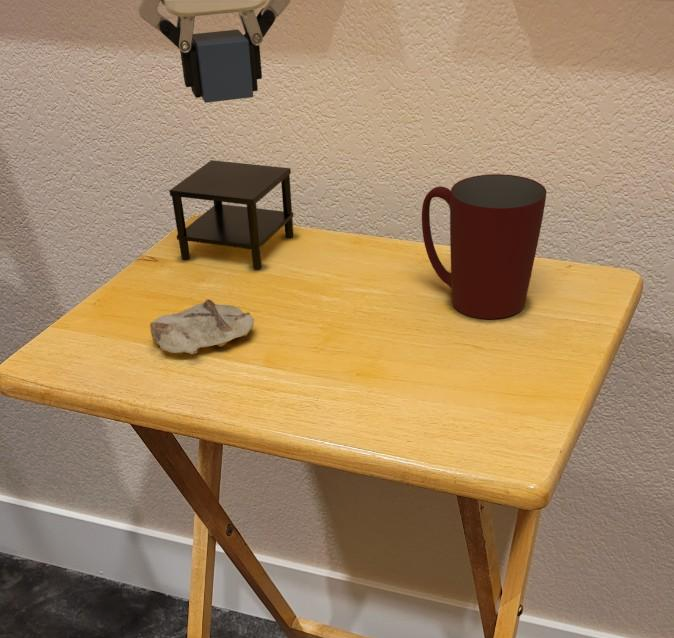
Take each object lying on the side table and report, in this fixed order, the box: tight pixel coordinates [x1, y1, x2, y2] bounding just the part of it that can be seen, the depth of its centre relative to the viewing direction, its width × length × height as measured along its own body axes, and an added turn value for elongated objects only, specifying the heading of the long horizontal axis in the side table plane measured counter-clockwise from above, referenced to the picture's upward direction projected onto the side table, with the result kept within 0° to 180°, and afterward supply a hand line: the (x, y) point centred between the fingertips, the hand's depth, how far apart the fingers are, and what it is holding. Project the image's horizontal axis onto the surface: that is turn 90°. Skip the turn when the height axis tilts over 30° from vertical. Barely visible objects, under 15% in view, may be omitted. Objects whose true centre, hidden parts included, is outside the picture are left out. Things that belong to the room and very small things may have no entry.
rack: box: [169, 160, 295, 271], centre depth 99 cm, size 10×10×8 cm
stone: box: [149, 298, 255, 355], centre depth 85 cm, size 10×7×3 cm
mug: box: [421, 173, 547, 320], centre depth 87 cm, size 12×9×11 cm
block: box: [192, 29, 254, 104], centre depth 88 cm, size 5×5×5 cm
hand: (224, 89), depth 90 cm, fingers closed on block, 5 cm apart
